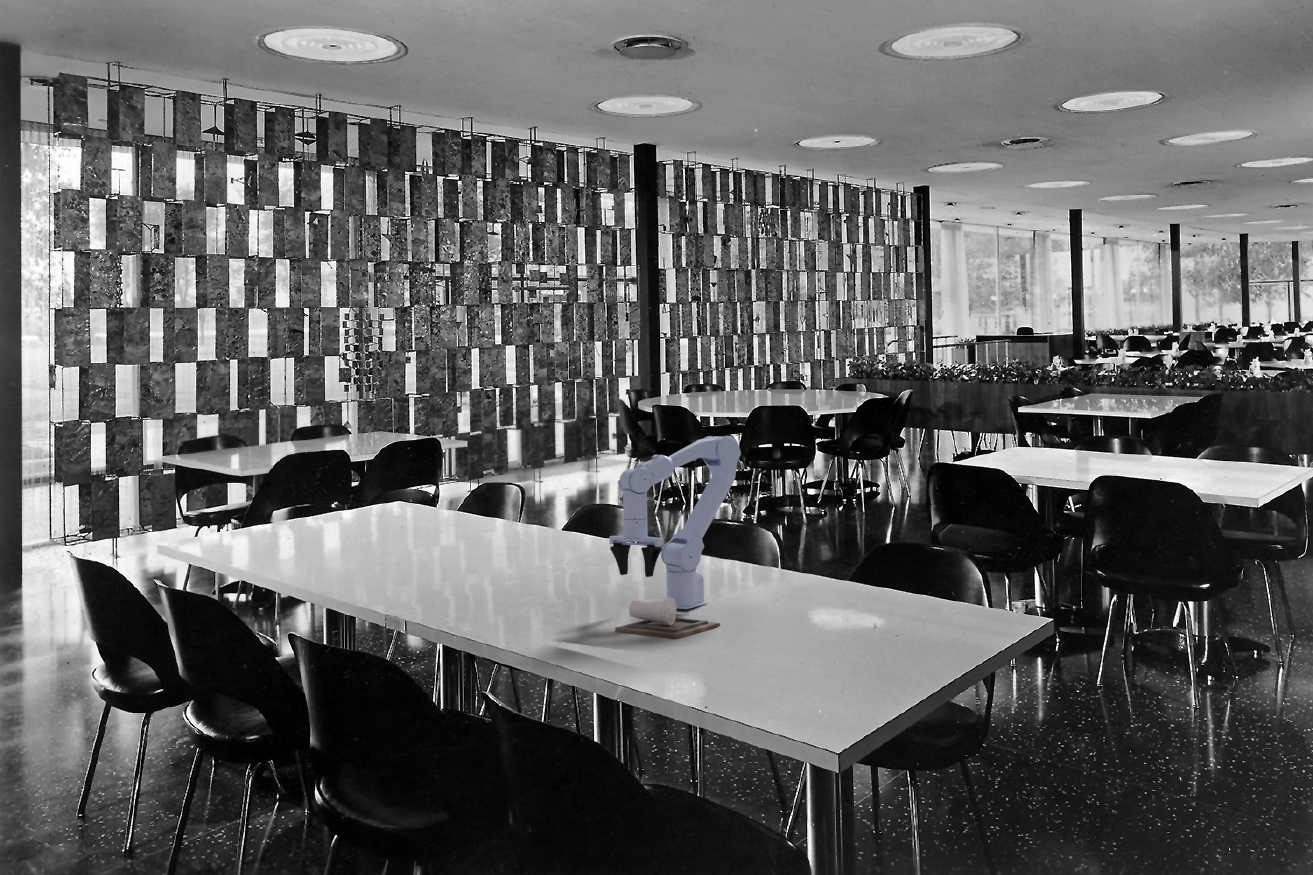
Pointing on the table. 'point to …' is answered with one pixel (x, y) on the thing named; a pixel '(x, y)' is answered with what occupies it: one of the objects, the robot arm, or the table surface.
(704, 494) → the robot arm
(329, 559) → the table surface
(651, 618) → the smoothie
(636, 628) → the holder
